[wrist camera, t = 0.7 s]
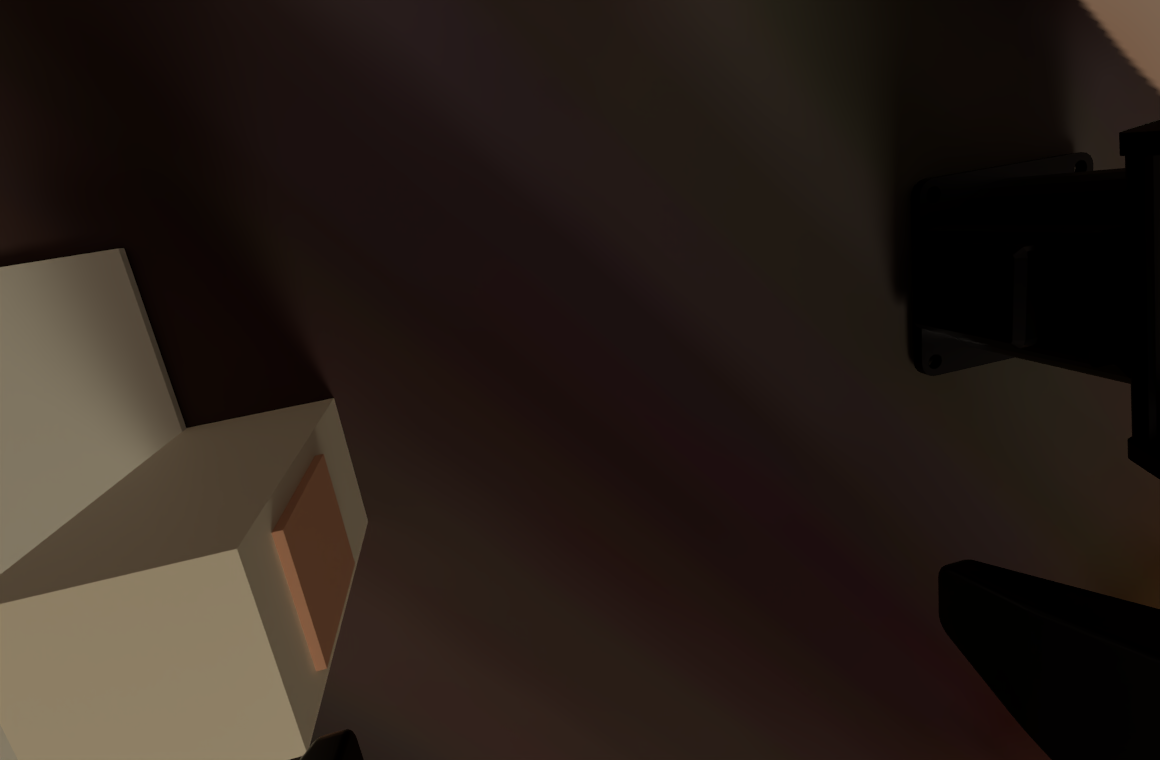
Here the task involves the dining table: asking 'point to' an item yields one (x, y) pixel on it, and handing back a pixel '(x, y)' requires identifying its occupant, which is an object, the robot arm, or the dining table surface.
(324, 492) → the block
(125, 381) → the mat
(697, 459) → the dining table surface
